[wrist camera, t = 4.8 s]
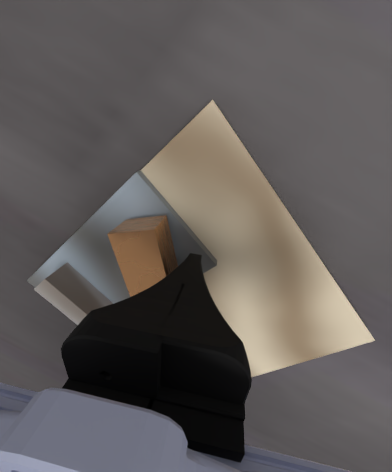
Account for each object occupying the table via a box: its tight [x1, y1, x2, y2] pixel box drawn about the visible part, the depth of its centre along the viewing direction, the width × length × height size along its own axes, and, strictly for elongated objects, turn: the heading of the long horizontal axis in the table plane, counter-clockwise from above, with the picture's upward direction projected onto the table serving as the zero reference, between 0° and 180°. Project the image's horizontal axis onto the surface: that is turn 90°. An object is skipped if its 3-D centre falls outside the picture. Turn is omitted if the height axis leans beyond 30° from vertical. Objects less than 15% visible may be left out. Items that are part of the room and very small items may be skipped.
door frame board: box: [27, 100, 375, 377], centre depth 14 cm, size 19×18×4 cm
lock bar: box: [107, 215, 178, 297], centre depth 13 cm, size 13×3×2 cm, turn 9°
